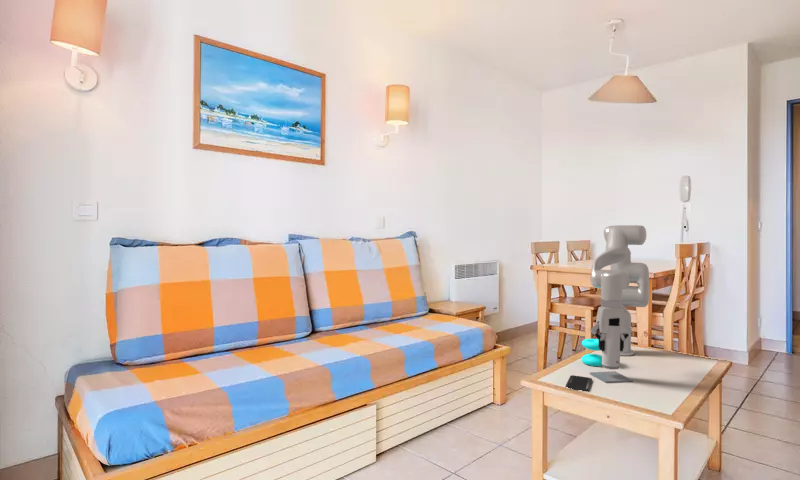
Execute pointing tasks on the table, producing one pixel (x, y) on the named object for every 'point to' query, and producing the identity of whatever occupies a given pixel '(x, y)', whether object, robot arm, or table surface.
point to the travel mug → (612, 346)
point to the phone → (579, 383)
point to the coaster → (611, 377)
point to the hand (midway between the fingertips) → (611, 350)
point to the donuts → (592, 358)
